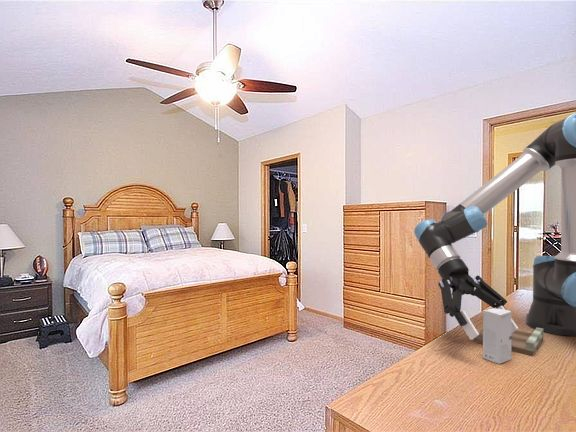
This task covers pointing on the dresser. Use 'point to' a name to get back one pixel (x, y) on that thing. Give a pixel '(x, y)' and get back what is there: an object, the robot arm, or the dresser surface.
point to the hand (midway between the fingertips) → (495, 334)
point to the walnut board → (521, 341)
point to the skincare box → (497, 335)
